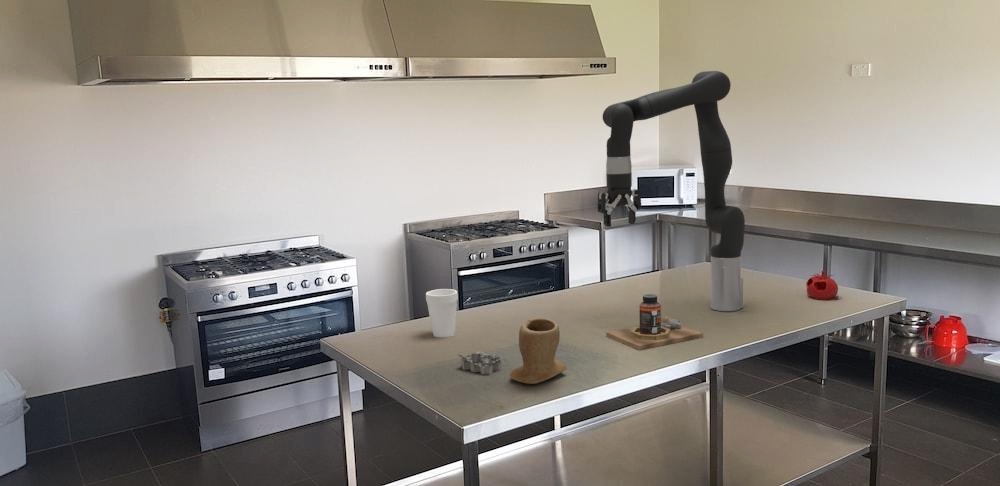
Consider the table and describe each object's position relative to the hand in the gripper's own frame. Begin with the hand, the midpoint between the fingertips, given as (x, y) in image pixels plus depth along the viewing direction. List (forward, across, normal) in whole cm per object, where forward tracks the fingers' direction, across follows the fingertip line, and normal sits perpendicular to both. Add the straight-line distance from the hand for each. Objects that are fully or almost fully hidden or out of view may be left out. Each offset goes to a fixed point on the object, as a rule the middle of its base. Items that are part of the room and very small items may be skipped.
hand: (620, 225), depth 236 cm
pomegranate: (+30, +71, -13) cm, 78 cm away
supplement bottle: (+29, -4, -20) cm, 35 cm away
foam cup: (+30, -52, +18) cm, 63 cm away
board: (+30, -2, -19) cm, 36 cm away
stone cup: (+30, -46, -32) cm, 64 cm away
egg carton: (+30, -56, -17) cm, 66 cm away
